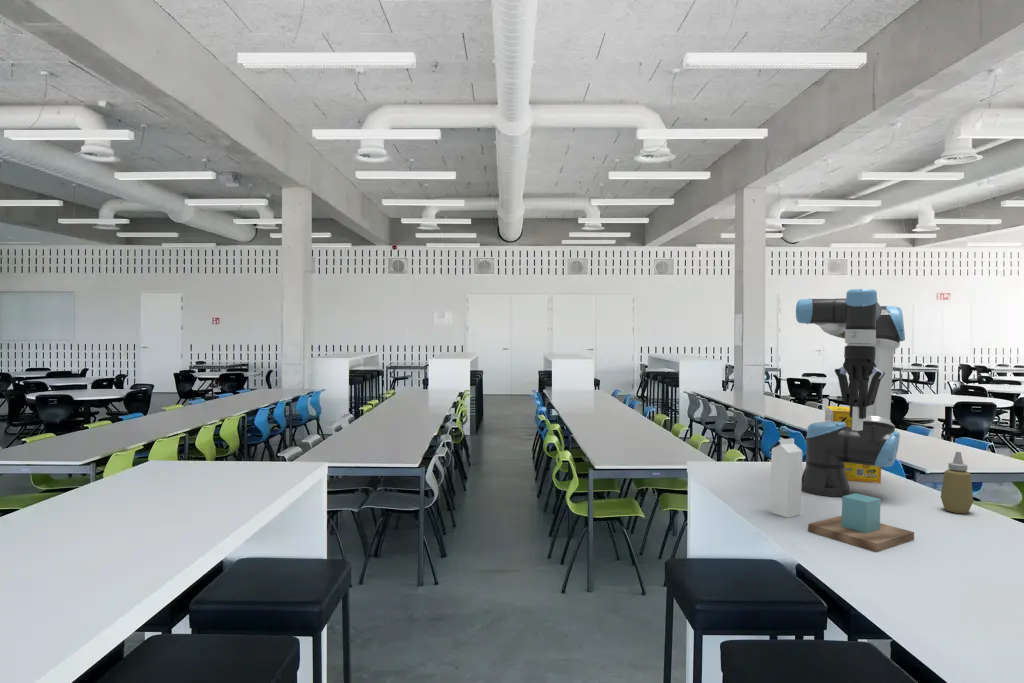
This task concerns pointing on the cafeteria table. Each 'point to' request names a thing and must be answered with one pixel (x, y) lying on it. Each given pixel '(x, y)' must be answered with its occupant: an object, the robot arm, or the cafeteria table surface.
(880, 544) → the walnut stand
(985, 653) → the cafeteria table surface
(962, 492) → the squeeze bottle
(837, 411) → the packaging box
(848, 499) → the teal block
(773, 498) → the milk
